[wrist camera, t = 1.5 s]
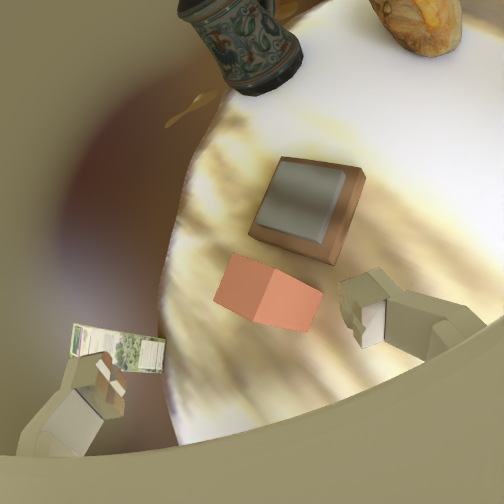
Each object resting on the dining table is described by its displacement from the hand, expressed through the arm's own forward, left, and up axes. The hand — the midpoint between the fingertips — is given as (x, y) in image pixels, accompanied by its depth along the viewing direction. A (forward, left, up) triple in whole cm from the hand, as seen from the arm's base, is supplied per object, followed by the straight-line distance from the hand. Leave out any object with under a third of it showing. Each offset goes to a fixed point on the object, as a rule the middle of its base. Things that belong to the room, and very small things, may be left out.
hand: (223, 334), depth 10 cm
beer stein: (-42, -35, -27) cm, 61 cm away
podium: (-13, -15, -27) cm, 33 cm away
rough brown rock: (-53, -6, -27) cm, 60 cm away
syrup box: (+16, -31, -27) cm, 44 cm away
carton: (-1, -11, -27) cm, 29 cm away
